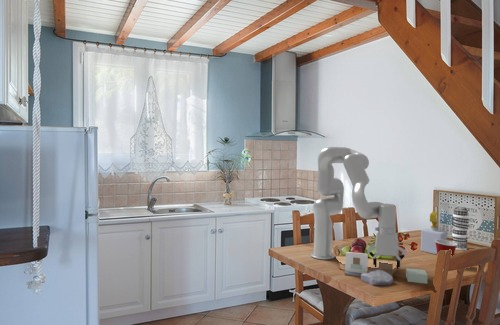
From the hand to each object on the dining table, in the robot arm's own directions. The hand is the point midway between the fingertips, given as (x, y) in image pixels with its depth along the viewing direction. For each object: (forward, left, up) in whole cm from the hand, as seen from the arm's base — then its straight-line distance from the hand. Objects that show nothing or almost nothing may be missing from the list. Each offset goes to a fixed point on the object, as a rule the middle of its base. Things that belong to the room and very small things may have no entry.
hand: (386, 267), depth 182 cm
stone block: (+10, -4, -4) cm, 12 cm away
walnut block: (0, 0, -4) cm, 4 cm away
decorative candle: (-71, +46, -4) cm, 85 cm away
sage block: (+1, +13, -4) cm, 14 cm away
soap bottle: (-54, +29, -4) cm, 62 cm away
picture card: (+3, -13, -4) cm, 14 cm away
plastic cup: (-30, +31, -4) cm, 43 cm away
